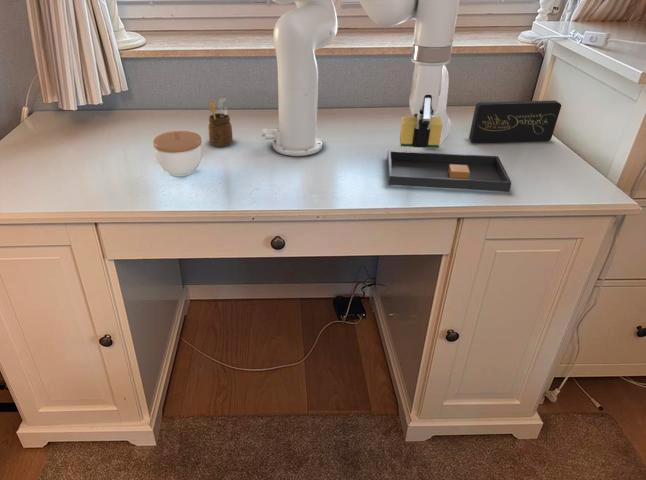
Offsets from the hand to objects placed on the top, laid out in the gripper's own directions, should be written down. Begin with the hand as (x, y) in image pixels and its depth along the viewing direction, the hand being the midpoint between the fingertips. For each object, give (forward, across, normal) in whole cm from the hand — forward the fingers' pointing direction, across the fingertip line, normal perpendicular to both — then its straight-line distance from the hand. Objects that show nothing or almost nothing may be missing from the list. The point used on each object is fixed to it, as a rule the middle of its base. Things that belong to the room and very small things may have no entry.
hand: (418, 141), depth 112 cm
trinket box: (+8, +5, -53) cm, 54 cm away
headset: (+8, -25, +6) cm, 27 cm away
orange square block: (+8, 0, +10) cm, 12 cm away
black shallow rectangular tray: (+8, 0, +7) cm, 10 cm away
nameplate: (+8, -24, +26) cm, 36 cm away
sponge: (0, 0, 0) cm, 0 cm away
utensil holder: (+8, -13, -48) cm, 51 cm away
